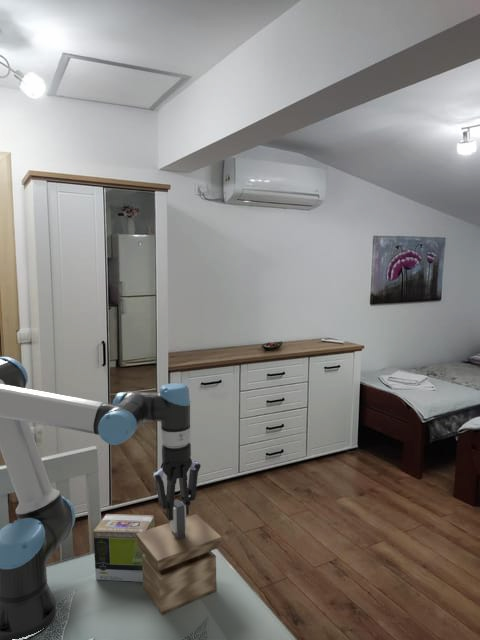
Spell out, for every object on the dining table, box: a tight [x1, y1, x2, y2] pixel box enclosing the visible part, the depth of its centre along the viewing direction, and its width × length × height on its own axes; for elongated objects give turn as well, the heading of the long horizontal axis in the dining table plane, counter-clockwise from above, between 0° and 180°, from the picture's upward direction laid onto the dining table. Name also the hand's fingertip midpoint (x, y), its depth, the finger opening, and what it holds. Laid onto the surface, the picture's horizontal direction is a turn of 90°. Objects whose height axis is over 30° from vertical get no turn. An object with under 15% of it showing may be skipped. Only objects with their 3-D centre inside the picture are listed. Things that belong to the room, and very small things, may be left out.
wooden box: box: [142, 551, 218, 616], centre depth 127 cm, size 16×12×10 cm
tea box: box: [92, 513, 156, 583], centre depth 135 cm, size 15×10×15 cm, turn 84°
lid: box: [136, 498, 222, 571], centre depth 125 cm, size 18×14×12 cm
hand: (178, 528), depth 126 cm, fingers closed on lid, 2 cm apart
